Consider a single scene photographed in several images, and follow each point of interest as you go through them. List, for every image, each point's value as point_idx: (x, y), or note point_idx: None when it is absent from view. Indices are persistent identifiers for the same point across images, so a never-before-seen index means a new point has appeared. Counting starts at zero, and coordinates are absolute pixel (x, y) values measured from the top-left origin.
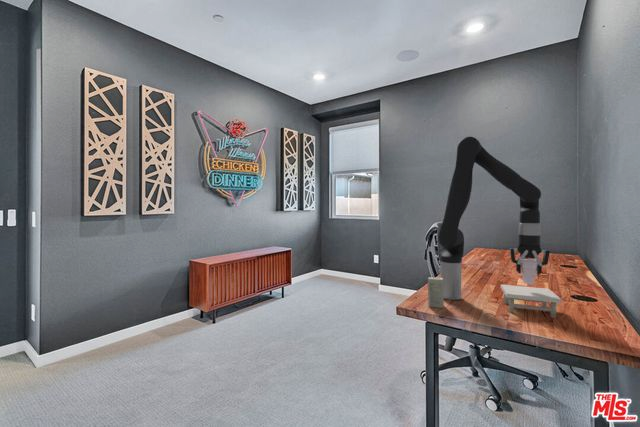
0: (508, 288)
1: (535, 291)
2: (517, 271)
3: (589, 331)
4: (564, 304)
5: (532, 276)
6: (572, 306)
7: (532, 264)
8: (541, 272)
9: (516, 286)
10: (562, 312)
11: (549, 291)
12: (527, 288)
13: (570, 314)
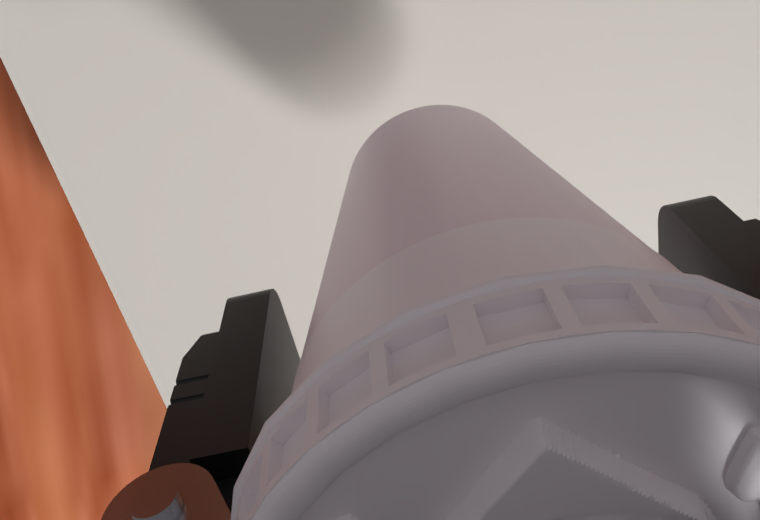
0: (697, 138)
1: (324, 192)
2: (754, 225)
3: None
4: (110, 468)
5: (385, 172)
6: (45, 448)
7: (432, 313)
8: (186, 353)
9: None
10: None
11: (156, 309)
12: None
13: (9, 177)
